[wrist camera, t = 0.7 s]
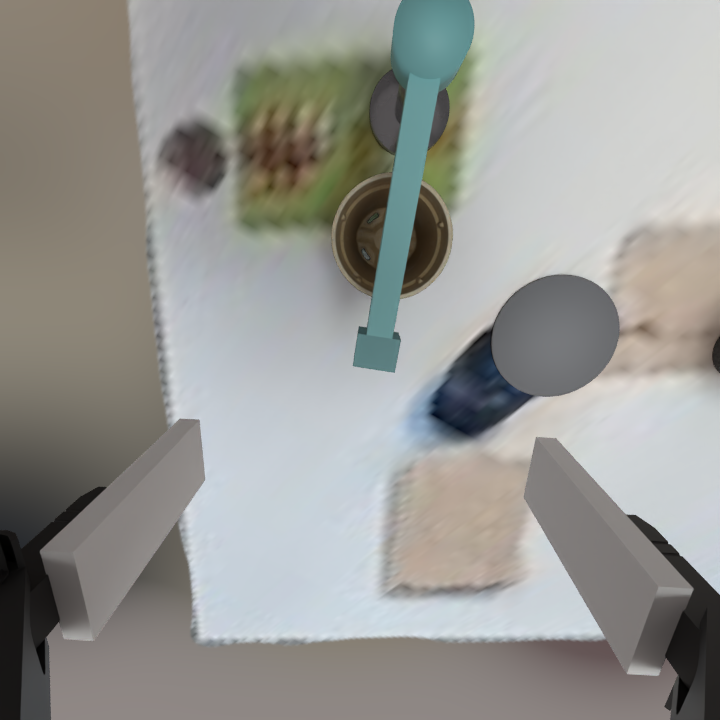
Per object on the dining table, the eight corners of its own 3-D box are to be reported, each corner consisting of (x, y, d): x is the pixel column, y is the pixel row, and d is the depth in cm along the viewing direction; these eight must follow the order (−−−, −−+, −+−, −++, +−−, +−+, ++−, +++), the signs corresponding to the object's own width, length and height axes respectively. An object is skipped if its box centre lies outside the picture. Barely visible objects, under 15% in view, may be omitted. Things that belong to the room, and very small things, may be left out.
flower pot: (454, 223, 37) (478, 218, 29) (400, 305, 40) (408, 321, 31) (372, 168, 36) (373, 145, 28) (322, 255, 38) (309, 259, 30)
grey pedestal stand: (376, 62, 33) (379, -21, 23) (454, 76, 34) (494, -1, 23) (364, 150, 36) (361, 111, 25) (438, 163, 36) (466, 129, 25)
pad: (509, 265, 38) (510, 265, 38) (635, 285, 38) (638, 286, 38) (477, 385, 42) (478, 386, 42) (592, 403, 42) (595, 404, 42)
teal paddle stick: (397, 6, 23) (401, -28, 20) (469, 18, 23) (483, -14, 20) (345, 354, 29) (342, 366, 27) (401, 363, 30) (404, 375, 27)
